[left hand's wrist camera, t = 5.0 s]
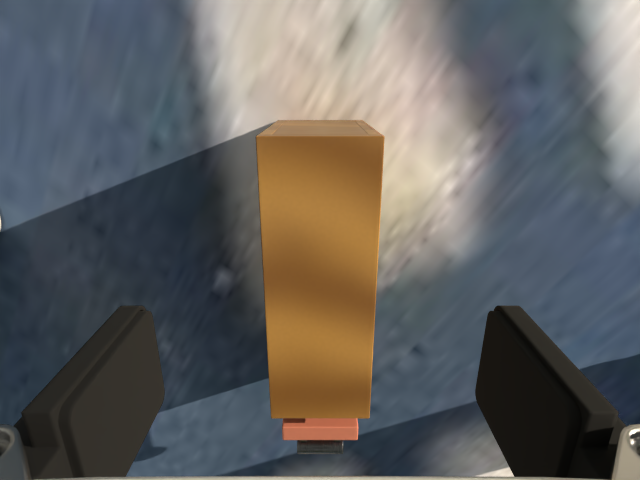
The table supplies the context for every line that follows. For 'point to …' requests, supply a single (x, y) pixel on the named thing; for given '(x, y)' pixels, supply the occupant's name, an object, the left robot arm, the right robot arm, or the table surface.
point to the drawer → (320, 434)
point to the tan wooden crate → (320, 263)
